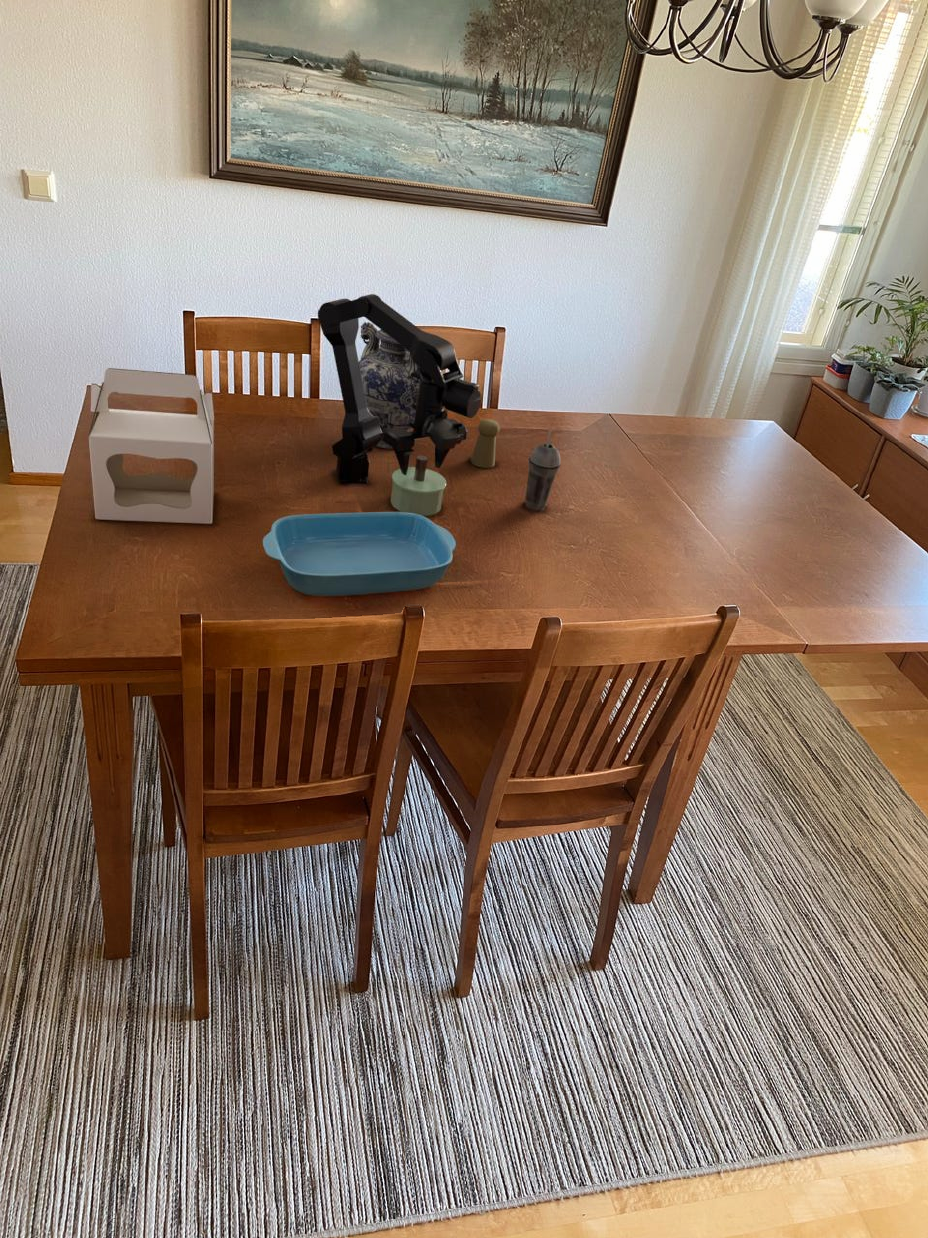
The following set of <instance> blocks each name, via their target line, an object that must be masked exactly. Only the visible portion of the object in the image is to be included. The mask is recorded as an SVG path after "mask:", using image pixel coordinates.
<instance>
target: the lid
mask: <svg viewBox="0 0 928 1238" xmlns="http://www.w3.org/2000/svg"><path fill="white" fill-rule="evenodd" d="M428 461H429V458H428V456H425V455H417V456H416V460H415V466H408V470H407V474H406V475H403V474H402V472H401V469H400V468H398V469H396V470H394V471H393V472H392V474H391V481H392V483H393V482H394V484H395V485H397V486H398V487H400V488H402V489H404V490H406V491H409V492H413V493H419V494H433V493H438V492H440V491H442V490H445V489H446V488H447V480H446V478H445V477H444V476H443V475H442V474H440V473H439V472H437V471H435V470H432V469H428V467H427V466H428Z"/></svg>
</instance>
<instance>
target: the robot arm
mask: <svg viewBox="0 0 928 1238" xmlns="http://www.w3.org/2000/svg"><path fill="white" fill-rule="evenodd" d="M361 318H365V319H366V320H367V321H370V323H371V324H373V325H374V326H376V327H377V328H378V329H379V330H382V331H384V332H385V333H386V334H388V335H389V336H390V337H392V338H393V339H394V340H396V341H397V342H398V343H400V344H401V345H402V346H404V347H405V348H406V349H407V350H408V351H409V354H410V355H411V357H412V360H413V361H414V362H415V363H416V364H417V365H418V366H419V368H418V369H417V370H416V371H414V372H412V373H411V376H412V377H415V378H418V379H420V381H419V389H418V396H417V403H413V404H412V408H413V409H414V410H416V412H415V419H414V421H413V422H410V427H411V429H412V431H406V430H404V429H403V428H401V427H396V428H390V429H387V430H385V431H384V435H383V441H384V442H385V443H387V444H388V445H390V446H391V447H392V448H393V449H392V450H393V452H394V454H395V456H396V459H397V462H398V465H399V469H401V472H402V474H403V475H406V474H407V470H408V467H409V463H410V458H411V454H413V453H414V452H415V449H413V448H414V446H415V443H416V441H421V440H427V439H430V441H431V442H432V443H433V444H434V466H435V468H436V469H440V468H441V466H442V465H443V463H444V461H445V459H446V458H447V456H448V454H449V452H450V451H451V450H452V449H453V450H454V449H455V448H456V446H457V445H458V444H459V445H460V444H461V443H462V441H465V440H466V439H467V436H468V435H467V434H468V430H467V427H466V425H465V423H464V422H461V421H457V420H456V419H454V418H448V411H449V412H452V413H454V414H457V415H460V416H463V417H465V418H468V419H472V418H474V417H475V416H476V415H477V413H478V412H479V409H480V408H481V404H482V395H481V392H480V390H479V387H480V385H479V384H478V383H475V382H470V381H467V380H464V379H462V378H464V373H463V371H462V369H461V366H460V363H459V361H458V359H457V355H456V350H455V349H456V348H455V346H454V345H453V343H451V342H450V341H449V340H447V339H445V338H443V337H441V336H439V335H437V334H433V333H430V332H428V331H424V330H422V329H420V328H419V327H418V326H417V325H416V324H414V323H412V322H411V321H410V320H409V319H408V318H405V317H404V316H403V315H402V314H401V313H399V312H398V311H397V310H395V309H394V308H393V307H391V306H390V305H388V304H387V303H386V302H384V301H383V300H382V299H381V297H380V296H379V295H377V294H374V293H370V294H366V295H362V296H359V297H358V298H356V299H353V300H351V299H348V298H340V299H336V300H331V301H327V302H324V303H322V304H321V305H320V307H319V309H318V310H317V320H318V322H319V326H320V328H321V332H322V334H323V336H324V337H325V339H326V340H327V341H328V343H329V344H330V345H331V347H332V351H333V356H334V357H333V358H334V362H335V366H336V371H337V377H338V383H339V387H340V392H341V397H342V402H343V409H344V412H345V413H344V417H343V422H342V424H341V436H342V438H341V439H340V440H338V441H337V442H335V443H333V444H332V445H331V449H332V454H333V456H335V457H336V468H335V469H333V473H334V475H335V477H336V480H337V481H338V483H339V484H340V485H359V484H362V485H363V484H366V485H367V484H368V480H367V478H368V477H369V469H370V460H369V458H368V457H369V455H368V453H372V452H373V450H374V448H375V447H377V446H376V445H377V444H378V443H379V441H380V439H381V436H380V434H381V433H382V431H381V428H380V423H379V417H378V416H373V415H372V414H371V413H370V412H369V410H368V408H367V404H366V398H365V393H364V388H363V382H362V377H361V372H360V366H359V361H360V360H359V356H358V351H357V346H356V340H357V336H358V332H359V329H360V323H359V322H360V321H359V319H361ZM444 370H448V371H447V372H444V373H442V372H443V371H444Z"/></svg>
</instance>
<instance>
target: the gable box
mask: <svg viewBox="0 0 928 1238" xmlns="http://www.w3.org/2000/svg"><path fill="white" fill-rule="evenodd" d="M111 394H117V395H118V394H128V395H140V396H154V397H166V398H167V397H168V398H169V397H170V398H182V399H187V400H191V399H192V400H194V401H195V403H196V407H197V413H196V414H190V413H174V412H161V411H149V410H148V411H147V410H133V409H118V408H117V409H116V408H109V397H110V395H111ZM214 410H215V409H214V401H213V392H211V391H210V392H209V391H207V392H204V390H203V389H201V387H200V382H199V377H197V376H196V375H195V374H190V373H189V374H188V373H177V372H163V371H154V370H153V371H152V370H151V371H150V370H139V369H126V368H114V367H113V368H112V367H108V368H107V369H106V370H105V372H104V378H103V381H101V386H100V385H99V384H98V383H93V382H92V383H91V385H90V412H92V413H93V412H94V413H93V417H92V421H91V425H90V428H89V432H88V445H89V456H90V470H91V481H92V483H91V484H92V493H93V494H92V495H93V506H94V507H93V508H94V518H95V519H96V520H99V521H100V520H101V521H102V520H103V521H126V522H152V523H176V524H178V523H179V524H201V525H205V524H206V525H212V524H213V515H214V514H213V513H214V494H215V490H214V489H215V488H214V482H215V481H214V480H215V477H214V476H215V469H214V468H215V411H214ZM124 454H125V455H136V456H142V457H146V458H150V459H151V458H152V459H158V460H165V459H169V460H170V459H186V460H190V461H192V462H193V465H194V475H193V476H192V477H189V478H181V477H177V476H175V475H172V474H168V473H161V472H160V473H159V472H158V473H157V472H154V473H153V472H152V473H147V474H140V475H139V474H138V475H130V474H127V473H125V471H124V470H123V463H124V456H123V455H124Z"/></svg>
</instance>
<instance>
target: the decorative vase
mask: <svg viewBox="0 0 928 1238" xmlns="http://www.w3.org/2000/svg"><path fill="white" fill-rule="evenodd" d="M360 338H361V340H362V341H363V343H364V344H366V345H365V346H364V348H363V350H362V353H361V355H360V360H358V361H359V366H360V372H361V377H362V382H363V388H364V393H365V398H366V404H367V408H368V410H369V412H370V413H371V414H372V415H373V416H378V417H379V423H380V428H381V431H382V433H381V434H380V436H381V439H380V441H379V443H378V444H377V445H376V446H375V447H376V448H381V449H387V450H393V448H392V447H391V446H390V445H388V444H387V443H385V442H384V441H383V435H384V431H385V430H387V429H390V428H396V427H401V428H403V429H404V430H406V431H407V432H409V431H410V430H411V429H412V428H411V427H410V422H413V421H414V419H415V412H416V410H414V409H413V408H412V404H413V403H417V396H418V389H419V381H420V379H418V378H415V377H412V376H411V373H412V372H414V371H416V370H417V369H418V368H419V366H418V365H417V364H416V363H415V362H414V361H413V360H412V357H411V355H410V353H409V351H408V350H407V349H406V348H405V347H404V346H402V345H401V344H400V343H398V342H397V341H396V340H394V339H393V338H392V337H390V336H389V335H388V334H386V333H385V332H384V331H382V330H381V329H379V330H378V329H377V328H376V327H375V324H373V323H371V322H366V321H364V322H363V323H362V324H361V326H360Z"/></svg>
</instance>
